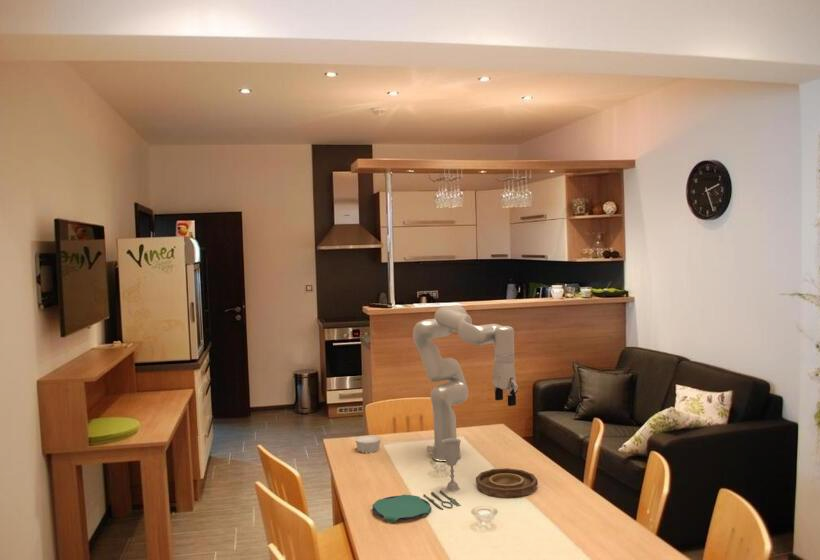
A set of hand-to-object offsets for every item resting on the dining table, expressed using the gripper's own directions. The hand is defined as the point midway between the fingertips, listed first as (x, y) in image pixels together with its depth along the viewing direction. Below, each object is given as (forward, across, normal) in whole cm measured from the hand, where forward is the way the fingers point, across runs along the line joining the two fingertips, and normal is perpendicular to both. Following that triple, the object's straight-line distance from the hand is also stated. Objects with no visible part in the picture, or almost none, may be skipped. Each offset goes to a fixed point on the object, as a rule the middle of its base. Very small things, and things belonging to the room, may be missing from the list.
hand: (505, 402), depth 245 cm
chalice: (+30, +1, -23) cm, 38 cm away
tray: (+30, +8, -4) cm, 31 cm away
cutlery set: (+30, +11, -43) cm, 53 cm away
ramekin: (+31, -59, -38) cm, 76 cm away
